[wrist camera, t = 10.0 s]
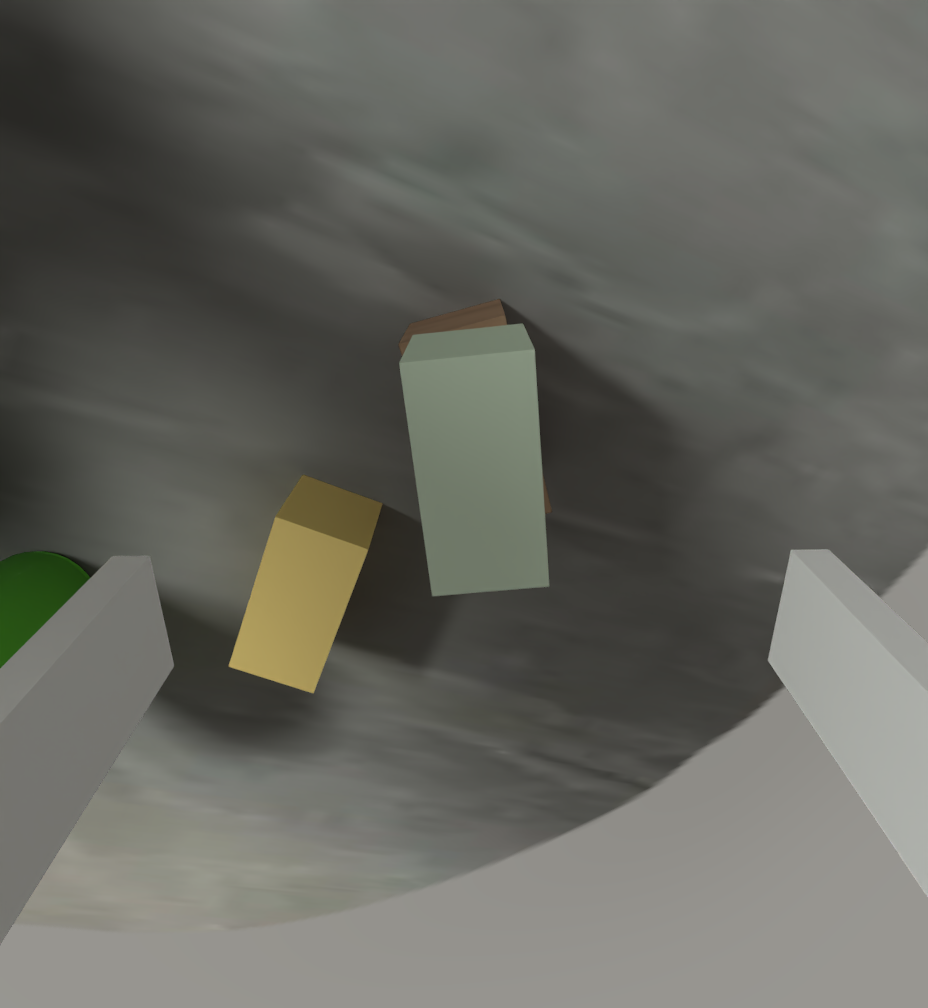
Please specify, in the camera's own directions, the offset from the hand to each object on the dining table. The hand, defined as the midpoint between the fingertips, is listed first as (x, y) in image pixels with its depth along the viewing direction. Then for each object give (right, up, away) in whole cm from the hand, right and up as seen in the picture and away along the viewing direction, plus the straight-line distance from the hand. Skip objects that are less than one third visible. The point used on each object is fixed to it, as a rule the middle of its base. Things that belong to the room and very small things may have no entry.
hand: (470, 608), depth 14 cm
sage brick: (0, +5, +12) cm, 13 cm away
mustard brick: (-7, 0, +20) cm, 21 cm away
